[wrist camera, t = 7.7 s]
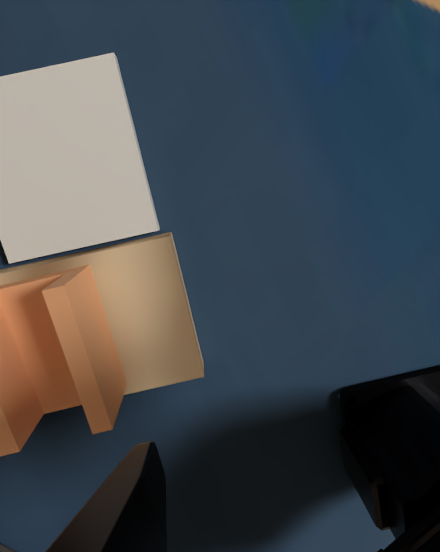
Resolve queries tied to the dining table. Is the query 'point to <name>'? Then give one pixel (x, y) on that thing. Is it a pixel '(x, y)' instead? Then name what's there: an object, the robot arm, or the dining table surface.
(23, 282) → the clip
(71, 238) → the pad
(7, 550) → the camera
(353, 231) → the dining table surface
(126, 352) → the rail
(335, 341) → the dining table surface
